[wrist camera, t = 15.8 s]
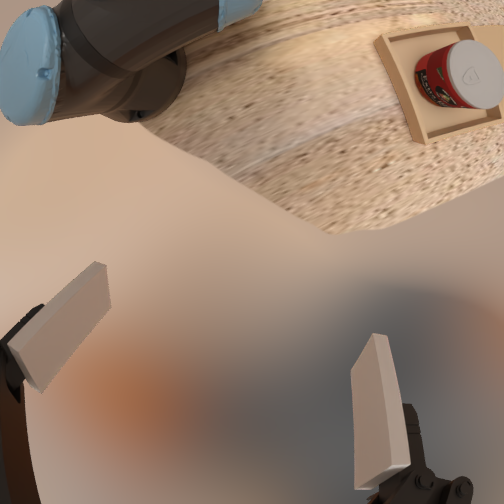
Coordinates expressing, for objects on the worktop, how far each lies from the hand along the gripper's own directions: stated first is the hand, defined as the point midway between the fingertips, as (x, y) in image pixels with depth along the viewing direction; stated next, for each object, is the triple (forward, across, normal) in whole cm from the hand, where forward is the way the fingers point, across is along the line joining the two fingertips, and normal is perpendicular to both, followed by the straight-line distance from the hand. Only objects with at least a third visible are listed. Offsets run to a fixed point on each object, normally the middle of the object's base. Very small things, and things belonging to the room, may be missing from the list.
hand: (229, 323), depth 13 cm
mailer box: (+29, +24, +24) cm, 44 cm away
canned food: (+28, +18, +20) cm, 39 cm away
